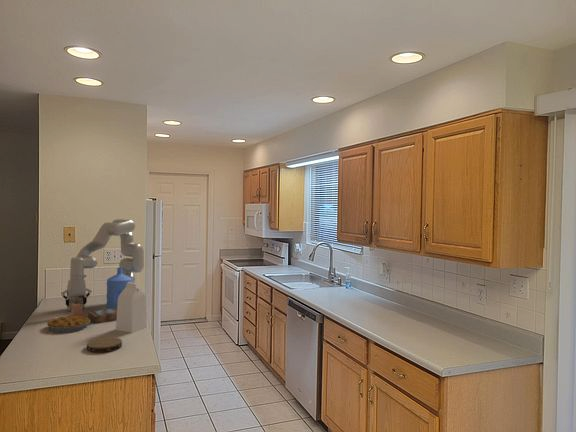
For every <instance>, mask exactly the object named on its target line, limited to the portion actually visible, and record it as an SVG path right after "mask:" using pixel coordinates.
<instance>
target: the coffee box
mask: <svg viewBox="0 0 576 432" xmlns="http://www.w3.org/2000/svg"><path fill="white" fill-rule="evenodd" d="M83 298H84V296H83V295H82V296H71V297H70V298H69V306H67V305H66V310H67V311H69V312H71V305H73V304H81V305H82V310H83V309H84V308H85V304H83Z"/></svg>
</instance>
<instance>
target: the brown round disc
mask: <svg viewBox="0 0 576 432" xmlns="http://www.w3.org/2000/svg"><path fill="white" fill-rule="evenodd" d="M122 340H123V339H121V338H119V337H115V336H114V337H112V336H109V337H108V336H105V337H98V338H93V339H91V340H89V341H88V342H87V343H86V351H87V352H90V353H92V354H104V353H112V352H115V351H116V352H117V351H118V350H119V349H122V346H123V345H122V344H123V341H122Z"/></svg>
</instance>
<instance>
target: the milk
mask: <svg viewBox="0 0 576 432" xmlns="http://www.w3.org/2000/svg"><path fill="white" fill-rule="evenodd" d="M146 328H148V324H147V301H146V294H145V293H144V292H143V291H142V290H141V289H140V288H139V286H138V283H136V282H135V283H130V282H129V283H127V285H126V288H125V289H124V290H123V291H122V292H121V294H120V295H119V296H118V304H117V319H116V320H115V330H116V331H121V332H125V333H130V334H132V333H136V332H138V331H141V330H144V329H146Z"/></svg>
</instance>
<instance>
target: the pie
mask: <svg viewBox="0 0 576 432" xmlns="http://www.w3.org/2000/svg"><path fill="white" fill-rule="evenodd" d="M90 322H91V320H90V319H89V318H88V316H83V315H82V316H71V315H70V316H68V315H67V316H64V317H63V316H59V317H58V318H52V319H50V320H48V322H47V324H46V326H47V327H49V328H50V329H49V330H50V331H52V332H54V333H70V332H71V333H72V332H77V331H80V330H84V329H86V328H87V327H88V325H89V323H90Z"/></svg>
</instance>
